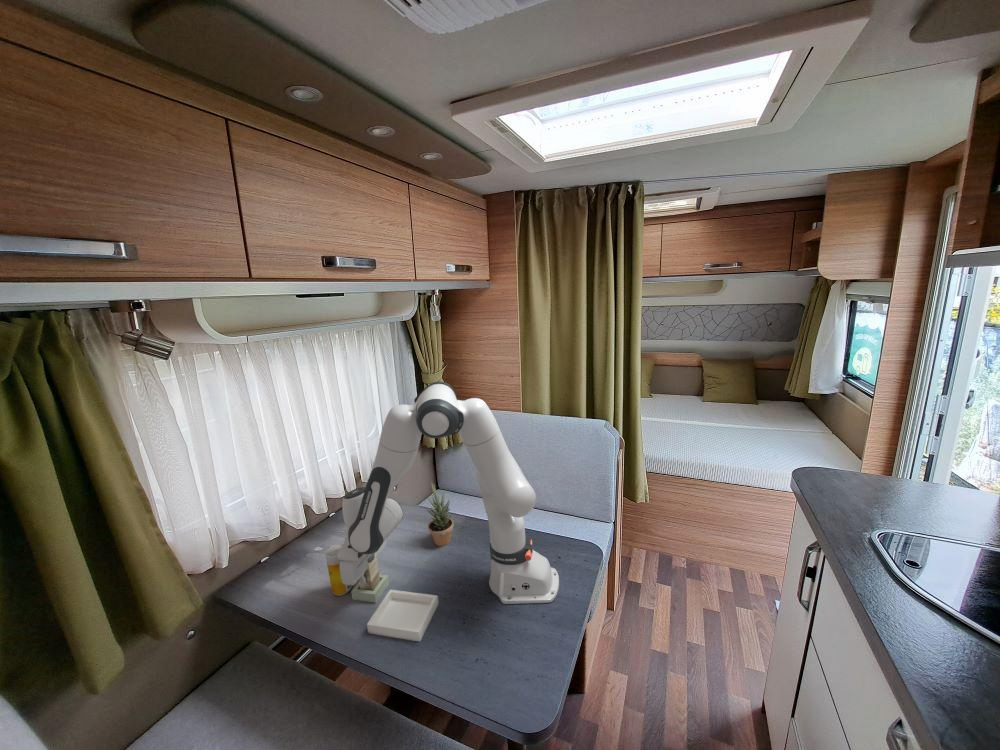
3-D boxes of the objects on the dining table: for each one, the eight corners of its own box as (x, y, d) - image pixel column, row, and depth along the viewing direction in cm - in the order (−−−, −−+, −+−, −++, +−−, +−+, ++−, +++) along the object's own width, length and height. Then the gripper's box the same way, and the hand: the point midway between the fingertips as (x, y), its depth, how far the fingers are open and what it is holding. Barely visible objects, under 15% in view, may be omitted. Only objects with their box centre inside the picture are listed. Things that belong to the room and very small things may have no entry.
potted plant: (430, 535, 150) (423, 478, 145) (454, 531, 151) (448, 474, 146) (429, 551, 140) (422, 490, 135) (455, 547, 141) (449, 487, 136)
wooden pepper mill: (382, 586, 125) (377, 550, 122) (374, 598, 120) (368, 561, 117) (368, 584, 126) (363, 549, 123) (359, 596, 121) (353, 560, 118)
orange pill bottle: (339, 582, 128) (332, 543, 125) (356, 583, 127) (349, 543, 124) (328, 596, 122) (320, 555, 119) (346, 597, 121) (338, 556, 118)
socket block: (389, 583, 126) (388, 575, 125) (375, 602, 118) (374, 594, 117) (367, 580, 128) (366, 572, 127) (352, 599, 120) (351, 591, 119)
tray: (438, 604, 116) (437, 595, 115) (420, 641, 103) (419, 632, 103) (391, 597, 120) (390, 589, 119) (368, 633, 107) (366, 624, 107)
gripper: (372, 518, 130) (377, 553, 132) (333, 558, 110) (340, 599, 113) (388, 519, 128) (393, 555, 131) (352, 560, 109) (359, 601, 111)
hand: (369, 576), depth 122 cm, fingers closed on wooden pepper mill, 4 cm apart
